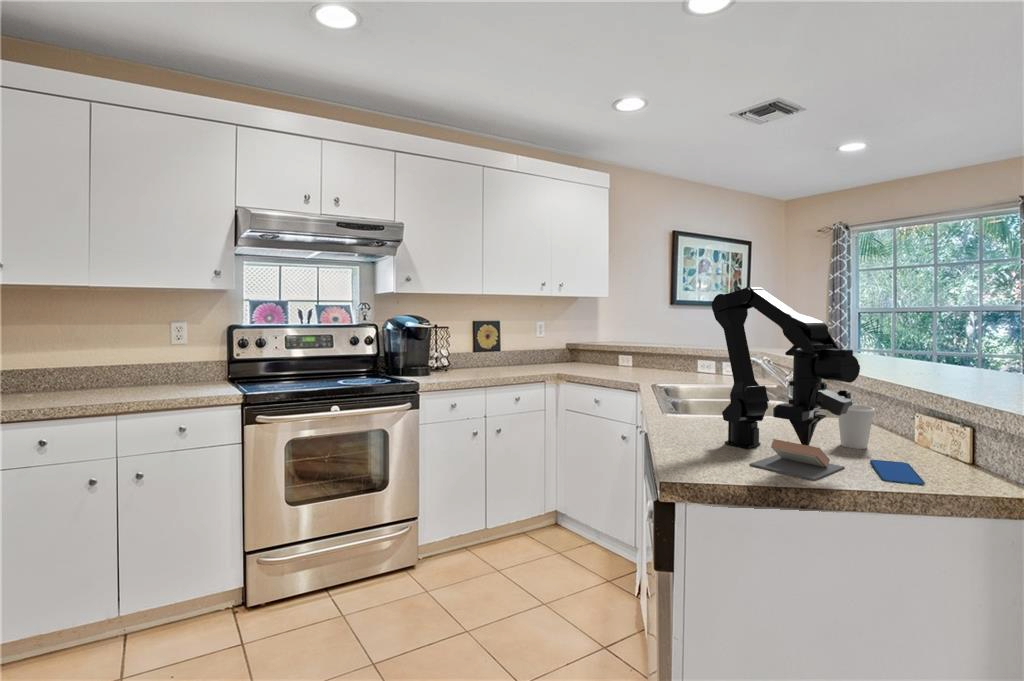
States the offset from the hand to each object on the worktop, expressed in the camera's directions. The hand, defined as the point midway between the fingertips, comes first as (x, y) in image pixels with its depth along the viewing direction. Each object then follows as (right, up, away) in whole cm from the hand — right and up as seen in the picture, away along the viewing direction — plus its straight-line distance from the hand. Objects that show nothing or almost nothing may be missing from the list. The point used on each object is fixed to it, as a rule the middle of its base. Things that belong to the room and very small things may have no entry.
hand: (805, 446), depth 124 cm
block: (0, -3, 0) cm, 3 cm away
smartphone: (+16, -5, -7) cm, 18 cm away
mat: (-3, -4, -2) cm, 6 cm away
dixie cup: (+21, -3, +16) cm, 27 cm away
